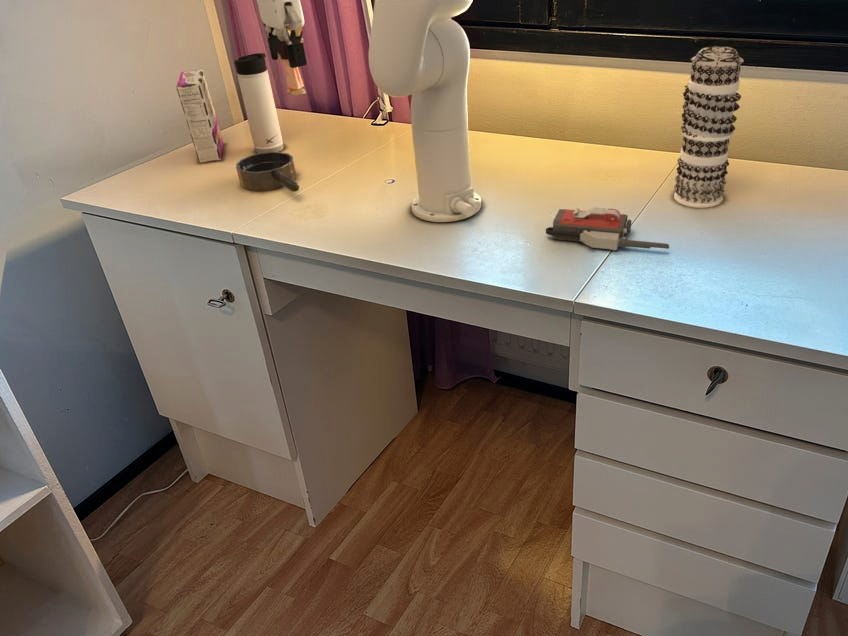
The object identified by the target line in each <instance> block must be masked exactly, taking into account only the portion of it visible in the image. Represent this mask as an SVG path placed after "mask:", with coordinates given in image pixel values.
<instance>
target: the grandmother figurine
mask: <svg viewBox="0 0 848 636" xmlns="http://www.w3.org/2000/svg"><path fill="white" fill-rule="evenodd" d="M288 25H290V24H288ZM288 25H285V26H288ZM288 33H289V36H290V33H291V31H288ZM272 34H273V35H276V36H277V37H278V39H279V40H280V41H281V42H280V44H279V45H278V48H277V53H278V59H277V60H278V61H282V64H283V68H284V72H285V78H286V85H287V89H286V91H285V92H286V94H291V95H292V96H298V95H304V94H305V95H306V93H307V91H306V89H304V88H303V87H304V81H303V79H302V76H301V72H300V70H299V67H296V68H291V67H290V65H289V60H288V55H287V50H286V46H285V45H288V44H287V42H286V39H285V37H284V34H283V32H282V30H279V29H276V28H274V30H273V33H272Z"/></svg>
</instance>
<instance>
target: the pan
mask: <svg viewBox="0 0 848 636" xmlns="http://www.w3.org/2000/svg"><path fill="white" fill-rule="evenodd" d="M235 165H236V166H235V169H236V172H237V176H238V179H239V180H238V181H239V184H240V185H241V187H243V188H245V189H247V190H249V191H254V192H269V191H274V190H278V189H282V188H285V186H284V185H283V184H281V183H280V182H279V181H277V180H276V179H274V178H273V172H274V171H275V170H279V171H281V172H282V173H284V174H285V175H286V176H288V177H289V178H291V179H292V180H294V181H295V179H296V178H297V170H296V166H295V161H294V156H293V155H291V154H290V153H288V152H283V151H279V152H265V153H255V154H250V155H248V156H246V157H244V158H241V159H240V160H239V161H238V162H236V164H235Z"/></svg>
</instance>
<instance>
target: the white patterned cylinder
mask: <svg viewBox="0 0 848 636" xmlns="http://www.w3.org/2000/svg"><path fill="white" fill-rule="evenodd" d="M690 62H691V70H690V77H689V78H688V83H687V84H686V85H684V91H683V92H682V96H683V100H684V102H683V104H682V109H683V113H681V120H682V125H681V127H680V129H681V135H682V136H683V137H682V138H683V139H682V146H681V147H680V155H679V158H677V165H678V166H677V167H676V173H677V175H676V176H675V178H674V181H675V185H674V186H673V187H674V193H673V198H674V200H675V201H676V202H677V203H678V204H680V205H683V206H686V207H691V208H697V209H698V208H701V209H705V208H712V207H715V206H718V205H720V204H721V203H722V202H723V201H724V198H723V197H724V196H723V194H724V193H725V191H726V190H725V185H726V184H727V180H726V175H727V174H728V170H727V168H728V166H729V165H730V162H729V159H728V157H729V152H730V151H729V145H730V139H731V138H732V137H733V135H734V131H735V130H736V126H734V123H736V121H737V119H738V118H737V116H735V115H734V112H736V111H738V110H739V109H740V107H741V106H740V105H739V103H737V102H738V101H740V100H741V98H742V95H741V94H740V93H739V92H737V91H739V87H740V82H741V81H740V80H741V79H740V74H741V65H742V64H743V63H744V58H742V57H740V55H739V53H738V51H737V50H736V49H735V48H734V47H731V46H724V45H723V46H722V45H711V46H706V47H703V48H701V49H700V50H699V51H698V52H697V53H696V55H694V56H692V58H690Z"/></svg>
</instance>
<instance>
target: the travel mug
mask: <svg viewBox="0 0 848 636" xmlns="http://www.w3.org/2000/svg"><path fill="white" fill-rule="evenodd" d="M266 57H267V56H266V53H265V52H257V53H252V54H247V55H244V56H240V57H239V58H238V59H235V60H234V68H235V71H236V76H237V80H238V86H239V88H240V93H241V97H242V102H243V106H244V110H245V114H246V118H247V122H248V127H249V131H250V136H251V139H252V144H253V148H254V151H255V153H256V154H258V153H265V152H282V151H283V150H284V147H285V146H284V142H283V137H282V131H281V127H280V122H279V117H278V113H277V108H276V104H275V98H274V93H273V90H272V85H271V80H270V75H269V71H268V67H267V63H266Z"/></svg>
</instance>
